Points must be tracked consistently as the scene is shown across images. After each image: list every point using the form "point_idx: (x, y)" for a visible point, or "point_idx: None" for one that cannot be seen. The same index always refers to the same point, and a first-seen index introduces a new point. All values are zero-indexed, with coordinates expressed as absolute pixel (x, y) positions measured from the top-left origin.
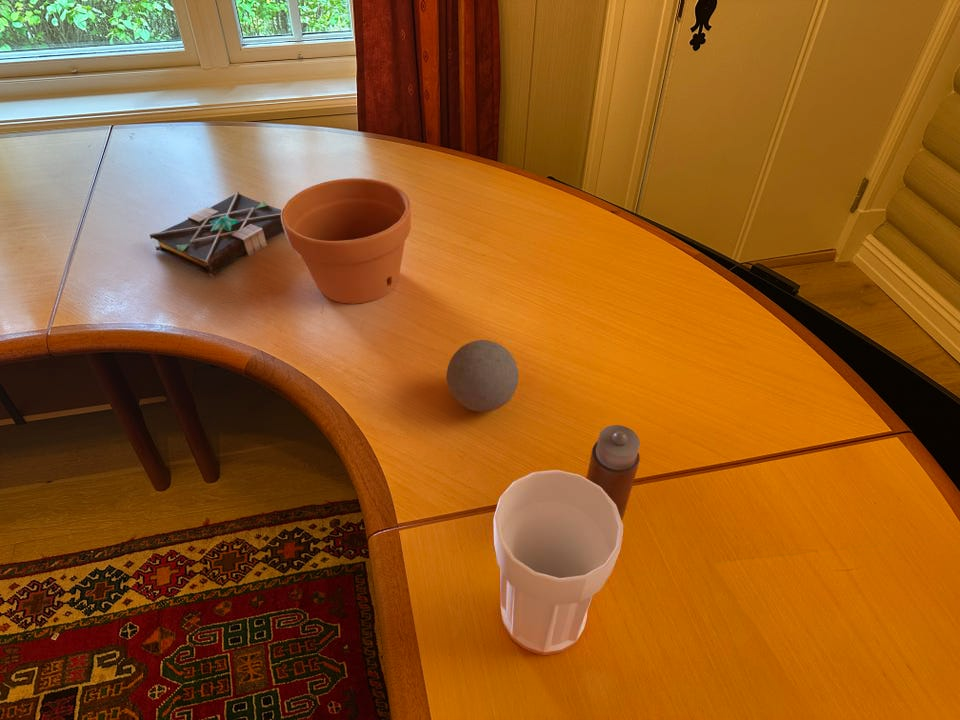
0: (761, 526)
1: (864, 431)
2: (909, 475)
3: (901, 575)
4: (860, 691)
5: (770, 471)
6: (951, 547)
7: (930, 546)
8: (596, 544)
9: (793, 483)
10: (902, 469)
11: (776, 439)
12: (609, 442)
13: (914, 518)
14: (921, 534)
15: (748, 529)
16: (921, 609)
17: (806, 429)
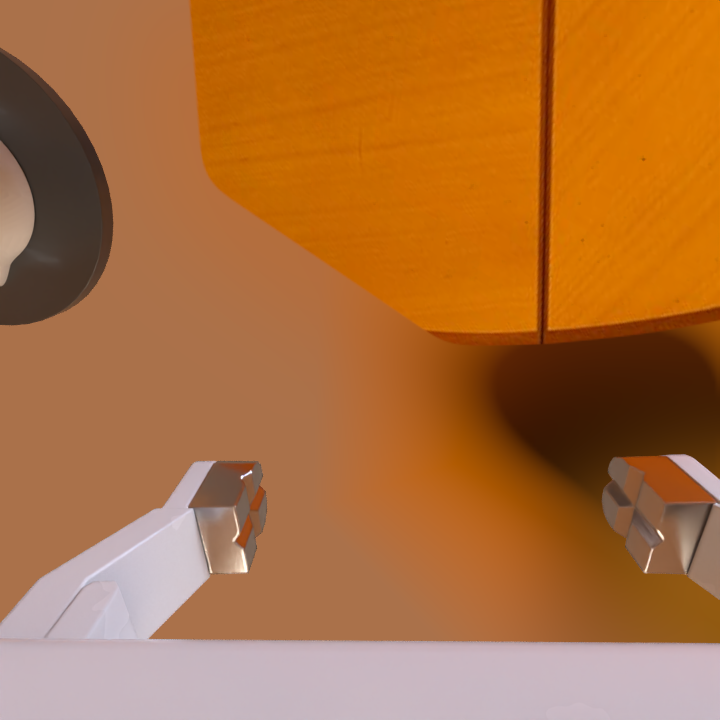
0: (433, 49)
1: (555, 294)
2: (477, 311)
3: (348, 217)
4: (215, 81)
5: (521, 111)
6: (378, 298)
7: (381, 275)
8: None
9: (494, 140)
10: (487, 307)
11: (575, 151)
12: None
13: (418, 279)
14: (397, 274)
15: (431, 23)
16: (308, 216)
17: (580, 211)
